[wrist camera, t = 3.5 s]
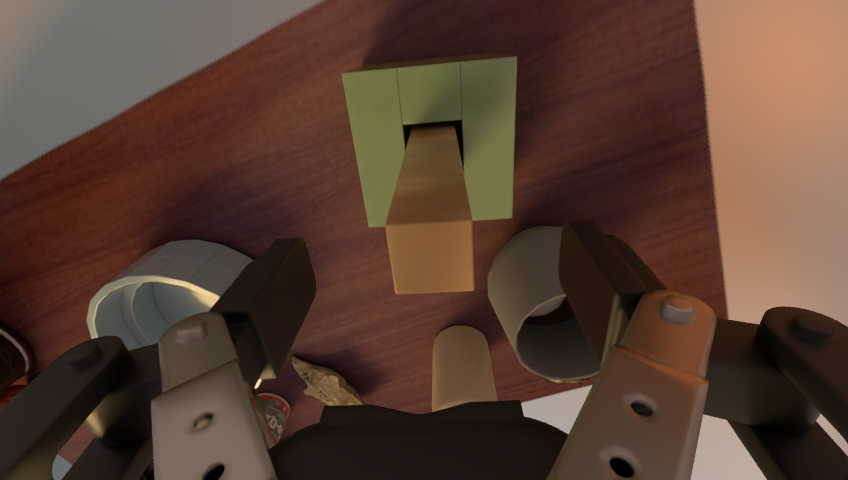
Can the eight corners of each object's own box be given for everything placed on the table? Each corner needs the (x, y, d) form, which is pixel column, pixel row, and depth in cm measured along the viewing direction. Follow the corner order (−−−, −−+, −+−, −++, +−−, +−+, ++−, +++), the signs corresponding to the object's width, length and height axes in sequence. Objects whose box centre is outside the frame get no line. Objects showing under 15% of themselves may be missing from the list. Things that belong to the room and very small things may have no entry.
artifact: (294, 355, 36) (371, 420, 37) (313, 333, 38) (385, 395, 39) (270, 377, 40) (339, 434, 42) (289, 355, 43) (353, 410, 44)
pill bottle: (299, 409, 43) (271, 485, 36) (271, 423, 45) (239, 499, 37) (269, 385, 41) (233, 461, 34) (241, 401, 43) (200, 477, 35)
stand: (380, 193, 30) (368, 227, 25) (360, 65, 25) (340, 73, 20) (498, 185, 29) (512, 218, 24) (500, 51, 25) (517, 56, 19)
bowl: (177, 357, 40) (137, 407, 34) (111, 241, 33) (50, 281, 28) (306, 352, 39) (286, 402, 33) (267, 231, 32) (233, 270, 27)
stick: (418, 148, 28) (395, 295, 12) (415, 112, 27) (383, 224, 11) (453, 145, 28) (474, 291, 12) (451, 109, 27) (472, 218, 11)
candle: (461, 315, 36) (469, 406, 27) (499, 345, 37) (518, 440, 29) (421, 345, 38) (416, 439, 29) (459, 372, 39) (465, 469, 31)
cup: (539, 315, 35) (573, 408, 27) (460, 268, 33) (469, 352, 24) (616, 244, 31) (686, 325, 23) (532, 185, 29) (574, 250, 20)
